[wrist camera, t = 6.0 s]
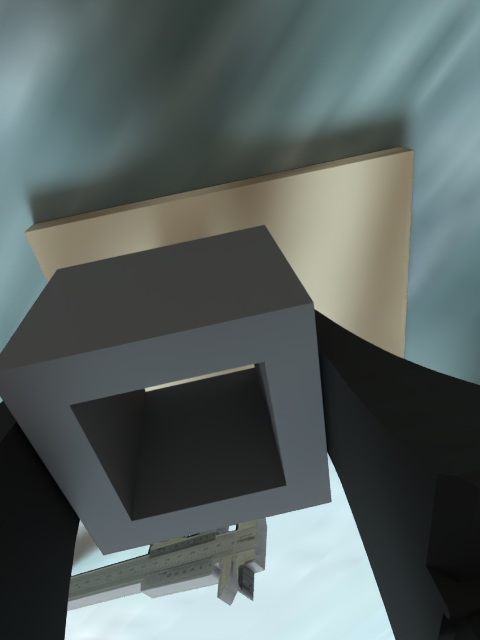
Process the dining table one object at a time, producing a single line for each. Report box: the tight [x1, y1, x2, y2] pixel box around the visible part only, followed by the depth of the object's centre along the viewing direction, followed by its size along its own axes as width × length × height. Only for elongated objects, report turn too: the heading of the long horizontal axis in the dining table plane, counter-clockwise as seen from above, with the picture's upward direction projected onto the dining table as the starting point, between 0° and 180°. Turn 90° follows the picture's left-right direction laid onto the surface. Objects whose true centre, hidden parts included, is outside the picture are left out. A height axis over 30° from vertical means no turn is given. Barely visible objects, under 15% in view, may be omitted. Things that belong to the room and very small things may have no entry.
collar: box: [0, 225, 331, 555], centre depth 10 cm, size 6×6×4 cm
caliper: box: [67, 518, 267, 611], centre depth 22 cm, size 21×1×6 cm, turn 122°
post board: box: [24, 147, 414, 392], centre depth 16 cm, size 14×13×5 cm
